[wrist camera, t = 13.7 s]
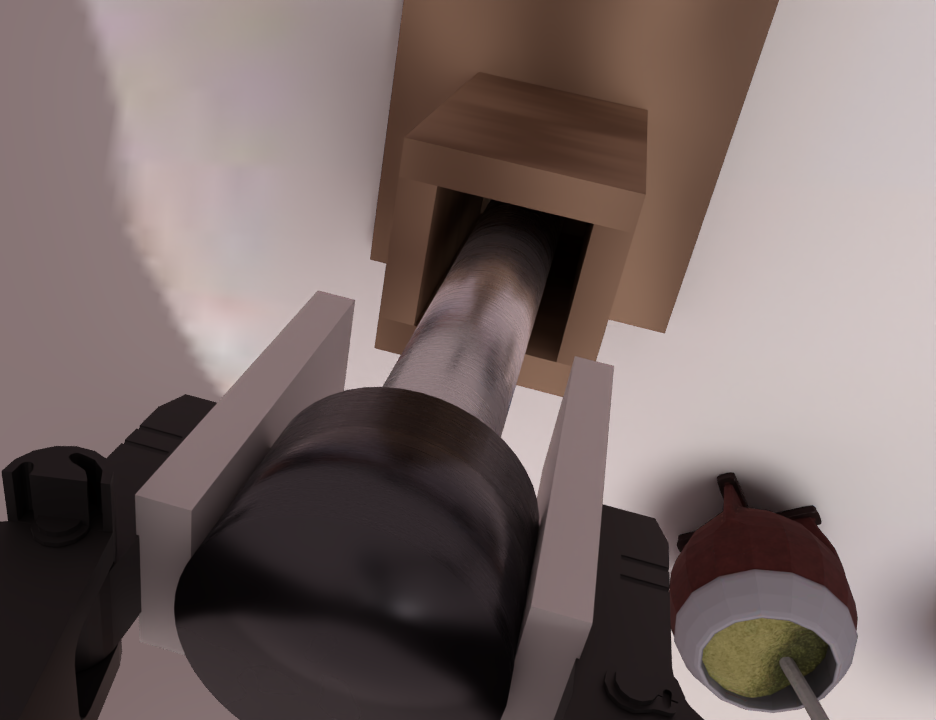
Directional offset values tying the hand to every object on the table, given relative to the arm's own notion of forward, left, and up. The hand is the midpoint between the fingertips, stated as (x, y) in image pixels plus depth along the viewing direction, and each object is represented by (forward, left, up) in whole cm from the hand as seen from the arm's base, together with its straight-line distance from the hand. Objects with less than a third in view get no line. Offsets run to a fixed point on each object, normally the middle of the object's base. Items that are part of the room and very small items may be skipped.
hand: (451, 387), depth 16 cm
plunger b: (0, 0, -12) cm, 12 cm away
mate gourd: (-13, +14, -18) cm, 26 cm away
